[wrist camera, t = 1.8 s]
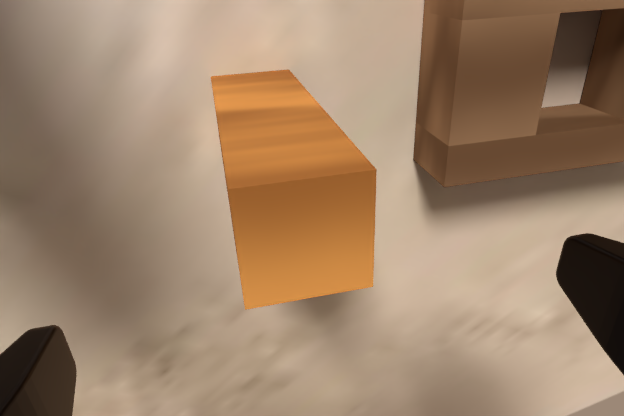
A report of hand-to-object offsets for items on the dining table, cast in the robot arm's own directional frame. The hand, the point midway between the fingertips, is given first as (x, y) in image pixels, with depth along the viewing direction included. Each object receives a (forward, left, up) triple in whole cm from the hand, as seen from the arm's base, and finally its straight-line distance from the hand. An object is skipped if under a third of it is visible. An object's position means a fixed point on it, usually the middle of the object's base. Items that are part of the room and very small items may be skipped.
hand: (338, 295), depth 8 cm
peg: (0, 0, -12) cm, 12 cm away
